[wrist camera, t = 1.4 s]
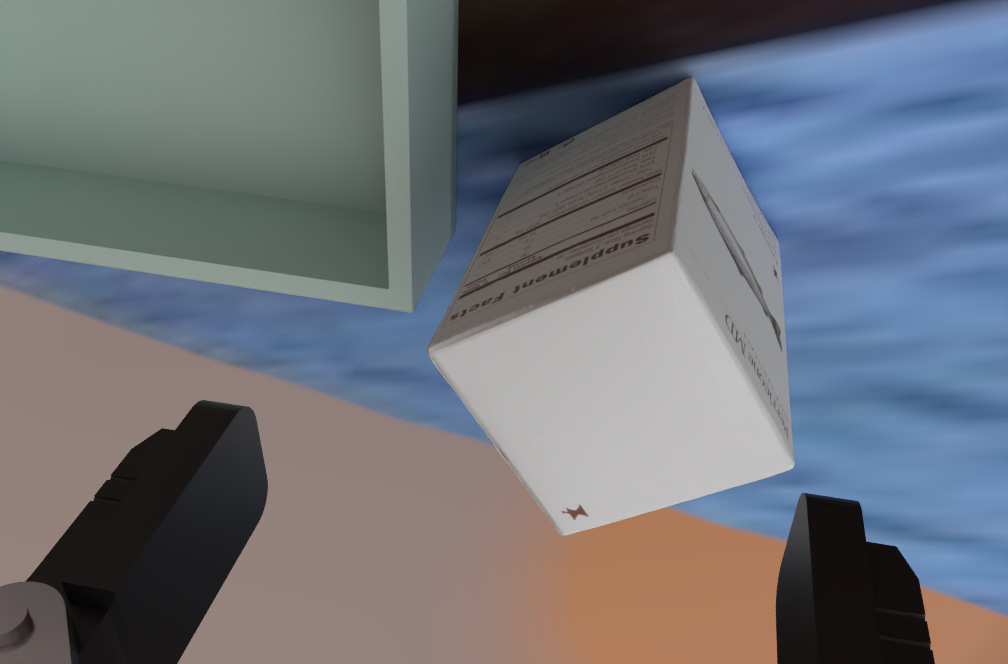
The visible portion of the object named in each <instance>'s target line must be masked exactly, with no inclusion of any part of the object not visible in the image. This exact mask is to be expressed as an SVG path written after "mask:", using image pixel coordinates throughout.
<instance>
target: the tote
mask: <svg viewBox="0 0 1008 664" xmlns="http://www.w3.org/2000/svg"><path fill="white" fill-rule="evenodd" d="M458 3H459V0H0V251H7V252H14V253H20V254H27V255H34V256H40V257H47V258H53V259H60V260H67V261H73V262H80V263H86V264H93V265H100V266H106V267H113V268H120V269H126V270H133V271H139V272H146V273H153V274H159V275H166V276H172V277H179V278H186V279H192V280H199V281H206V282H212V283H219V284H225V285H232V286H239V287H245V288H252V289H258V290H265V291H272V292H278V293H285V294H292V295H298V296H305V297H311V298H318V299H325V300H331V301H338V302H344V303H351V304H358V305H364V306H371V307H378V308H384V309H391V310H397V311H404V312H411V313H413V311H414V309H415V307H416V305H417V303H418V301H419V299H420V297H421V295H422V294H423V292H424V290H425V288H426V286H427V284H428V282H429V280H430V278H431V276H432V274H433V273H434V271H435V269H436V267H437V265H438V263H439V261H440V259H441V257H442V255H443V253H444V252H445V250H446V248H447V246H448V244H449V242H450V240H451V238H452V236H453V234H454V233H455V231H456V162H457V83H458Z"/></svg>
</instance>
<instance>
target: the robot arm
mask: <svg viewBox="0 0 1008 664" xmlns="http://www.w3.org/2000/svg"><path fill="white" fill-rule="evenodd" d="M267 491H268V481H267V475H266V469H265V464H264V458H263V453H262V448H261V443H260V437H259V432H258V426H257V421H256V416H255V414H254V411H253V410H252V409H251V408H250V407H246V406H239V405H232V404H226V403H219V402H213V401H206V400H202V401H199V402H197V403H196V404H195V405H194V406H193V407H192V409H191V410H190V411H189V413H188V414H187V415H186V417H185V418H184V419H183V420H182V422H181V423H180V425H179V426H178V427H177V428H176V430H169V429H161V430H159V431H158V432H156V433H155V434H153V435H152V436H150V437H149V438H147V439H146V440H144V441H143V442H141V443H140V444H138V445H137V446H135V447H134V448H132V449H131V450H130V452H129V453H128V454H127V455H126V457H125V458H124V459H123V460H122V462H121V463H120V464H119V465H118V467H117V468H116V469H115V471H114V472H113V473H112V474H111V479H110V480H107V481H106V482H105V483H104V484H103V486H102V487H101V488H100V489H99V491H98V492H97V493H96V494H95V498H94V501H90V502H89V503H88V504H87V506H86V507H85V508H84V509H83V511H82V512H81V513H80V515H79V516H78V517H77V518H76V520H75V521H74V522H73V523H72V524H71V526H70V527H69V529H68V530H67V531H66V532H65V533H64V535H63V536H62V537H61V538H60V540H59V541H58V542H57V543H56V545H55V546H54V547H53V549H52V550H51V551H50V552H49V554H48V555H47V556H46V557H45V558H44V560H43V561H42V562H41V563H40V565H39V566H38V567H37V569H36V570H35V571H34V572H33V574H32V575H31V576H30V577H29V578H28V579H27V580H26V581H25V582H18V583H12V584H9V585H4V586H1V587H0V664H177V663H178V661H179V659H180V658H181V656H182V654H183V653H184V651H185V649H186V647H187V646H188V644H189V642H190V640H191V639H192V637H193V635H194V633H195V632H196V630H197V628H198V627H199V625H200V623H201V621H202V620H203V618H204V616H205V614H206V613H207V611H208V609H209V607H210V605H211V604H212V602H213V600H214V599H215V597H216V595H217V594H218V592H219V590H220V588H221V587H222V585H223V583H224V581H225V580H226V578H227V576H228V574H229V573H230V571H231V569H232V567H233V566H234V564H235V562H236V560H237V558H238V557H239V555H240V554H241V552H242V550H243V548H244V547H245V545H246V543H247V541H248V540H249V538H250V536H251V535H252V533H253V531H254V529H255V527H256V526H257V524H258V522H259V520H260V518H261V516H262V514H263V511H264V507H265V503H266V499H267ZM776 596H777V597H776V631H777V663H778V664H935V662H934V657H933V652H932V650H930V644H931V641H930V637H929V631H928V626H927V622H926V621H925V610H924V605H923V599H922V594H921V589H920V584H919V579H918V578H917V576H916V575H915V573H914V572H913V570H912V569H911V567H910V566H909V564H908V563H907V561H906V560H905V559H904V557H903V556H902V554H901V553H900V551H899V550H898V548H897V547H896V546H890V545H884V544H877V543H871V542H866V537H865V530H864V523H863V516H862V509H861V506H860V503H859V502H858V501H854V500H847V499H840V498H834V497H827V496H821V495H814V494H807V493H802V494H801V496H800V498H799V501H798V504H797V508H796V511H795V515H794V519H793V522H792V526H791V530H790V533H789V537H788V541H787V545H786V548H785V552H784V556H783V559H782V563H781V567H780V572H779V578H778V585H777V595H776Z"/></svg>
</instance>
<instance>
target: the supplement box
mask: <svg viewBox="0 0 1008 664" xmlns="http://www.w3.org/2000/svg"><path fill="white" fill-rule="evenodd" d="M427 351H428V354H429V357H430V358H431V360H432V362H433V363H434V364H435V365H436V367H437V368H438V369H439V371H440V372H441V374H442V375H443V376H444V378H445V379H446V380H447V382H448V383H449V384H450V385H451V387H452V388H453V389H454V391H455V392H456V393H457V395H458V396H459V397H460V399H461V400H462V402H463V403H464V404H465V406H466V407H467V408H468V410H469V411H470V413H471V414H472V415H473V417H474V418H475V419H476V421H477V422H478V423H479V425H480V426H481V427H482V429H483V430H484V431H485V433H486V434H487V435H488V437H489V438H490V440H491V441H492V442H493V444H494V445H495V447H496V449H497V450H498V451H499V453H500V454H501V455H502V457H503V458H504V459H505V460H506V461H507V463H508V464H509V465H510V466H511V467H512V469H513V470H514V472H515V473H516V474H517V476H518V477H519V478H520V480H521V481H522V483H523V484H524V485H525V487H526V488H527V489H528V491H529V492H530V493H531V495H532V496H533V497H534V499H535V500H536V502H537V503H538V504H539V506H540V507H541V508H542V510H543V511H544V512H545V513H546V515H547V517H548V518H549V519H550V521H551V522H552V523H553V525H554V527H555V528H556V530H557V531H558V532H559V534H561V535H563V536H566V535H569V534H572V533H574V532H579V531H583V530H587V529H591V528H595V527H598V526H602V525H606V524H609V523H613V522H616V521H620V520H623V519H626V518H630V517H633V516H636V515H640V514H643V513H647V512H650V511H654V510H658V509H661V508H664V507H667V506H671V505H674V504H678V503H681V502H685V501H688V500H692V499H695V498H698V497H702V496H705V495H709V494H712V493H715V492H719V491H722V490H726V489H729V488H732V487H736V486H740V485H743V484H746V483H749V482H754V481H757V480H760V479H764V478H767V477H770V476H773V475H776V474H779V473H782V472H784V471H787V470H790V469H792V468H793V467H794V465H795V462H794V455H793V440H792V426H791V412H790V400H789V385H788V368H787V355H786V336H785V320H784V307H783V292H782V274H781V261H780V248H779V242H778V240H777V238H776V237H775V235H774V233H773V231H772V230H771V228H770V226H769V225H768V223H767V221H766V220H765V218H764V216H763V214H762V213H761V211H760V209H759V207H758V206H757V204H756V202H755V200H754V198H753V196H752V195H751V193H750V191H749V189H748V187H747V185H746V183H745V181H744V179H743V177H742V176H741V174H740V172H739V170H738V168H737V166H736V164H735V162H734V160H733V158H732V156H731V154H730V152H729V150H728V148H727V146H726V144H725V142H724V140H723V138H722V136H721V134H720V132H719V130H718V128H717V126H716V123H715V121H714V119H713V117H712V115H711V113H710V111H709V109H708V107H707V104H706V102H705V100H704V98H703V96H702V94H701V91H700V89H699V87H698V85H697V82H696V80H695V79H694V78H693V77H690V78H687V79H685V80H684V81H682V82H680V83H678V84H676V85H675V86H673V87H671V88H669V89H667V90H665V91H663V92H661V93H659V94H657V95H655V96H653V97H651V98H649V99H647V100H645V101H643V102H641V103H639V104H637V105H635V106H633V107H631V108H629V109H627V110H625V111H623V112H621V113H619V114H618V115H616V116H613V117H611V118H609V119H607V120H605V121H604V122H601V123H599V124H597V125H595V126H593V127H591V128H590V129H588V130H586V131H584V132H582V133H580V134H578V135H576V136H574V137H572V138H570V139H568V140H566V141H564V142H562V143H560V144H558V145H556V146H554V147H552V148H550V149H548V150H547V151H545V152H543V153H541V154H539V155H537V156H534V157H533V158H531V159H529V160H527V161H525V162H523V163H521V164H520V165H519V166H518V168H517V170H516V172H515V174H514V176H513V178H512V180H511V182H510V184H509V186H508V188H507V190H506V191H505V193H504V195H503V197H502V199H501V201H500V203H499V205H498V207H497V209H496V211H495V213H494V215H493V217H492V219H491V221H490V223H489V225H488V227H487V230H486V232H485V234H484V236H483V238H482V240H481V242H480V244H479V246H478V248H477V250H476V252H475V254H474V256H473V258H472V260H471V262H470V265H469V267H468V269H467V271H466V273H465V275H464V277H463V279H462V281H461V283H460V285H459V287H458V289H457V291H456V293H455V295H454V297H453V299H452V301H451V304H450V306H449V308H448V310H447V312H446V314H445V316H444V318H443V320H442V322H441V324H440V325H439V327H438V329H437V331H436V333H435V334H434V336H433V338H432V340H431V341H430V343H429V345H428V347H427Z"/></svg>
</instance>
